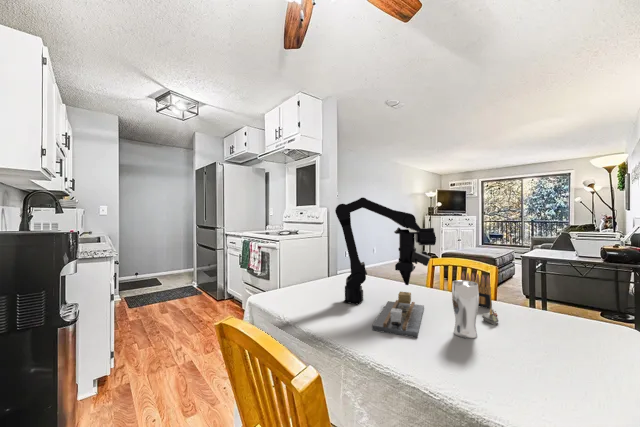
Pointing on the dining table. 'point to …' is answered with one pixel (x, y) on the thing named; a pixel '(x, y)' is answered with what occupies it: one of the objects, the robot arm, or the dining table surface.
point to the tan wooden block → (404, 297)
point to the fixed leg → (396, 315)
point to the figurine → (490, 316)
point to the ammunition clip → (486, 290)
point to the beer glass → (465, 308)
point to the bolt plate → (409, 319)
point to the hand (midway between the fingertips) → (407, 284)
